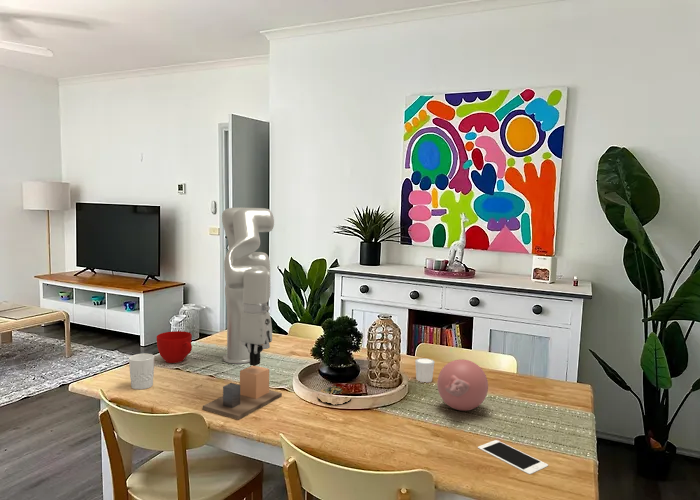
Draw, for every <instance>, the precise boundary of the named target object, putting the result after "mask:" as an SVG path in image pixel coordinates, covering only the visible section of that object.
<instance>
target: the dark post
mask: <svg viewBox="0 0 700 500" xmlns="http://www.w3.org/2000/svg"><path fill="white" fill-rule="evenodd" d="M222 396H223V406H226V407H230V408H234V407H236V406H238V405H240V384H237V383H235V382H233V383H232V382H230V383H227V384H225V385H223V386H222Z"/></svg>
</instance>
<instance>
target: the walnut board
mask: <svg viewBox="0 0 700 500" xmlns="http://www.w3.org/2000/svg"><path fill="white" fill-rule="evenodd" d="M282 394H283V393H282V392H280V391H276V390H275V391H274V390H271V389H269V393H267V394H265V395H263V396H261V397H259V398H257V399H255V398H251V397H247V396H243V395H240V405H238V406H236V407H234V408H230V407H226V406H223V395H222V396H220V397H218V398H216V399H214V400H212V401H210V402H209V401H208V402H207V403H205V404H203V405H202V407H201V408H202V410H203V411H206V412H210V413H213V414H217V415H220V416H223V417H224V416H225V417H228V418H231V419H235V420H237V421H239V420H241V419H242V418H245V417H246V416H248V415H250V414H252V413H254V412H256V411H258V410H260V409H261V408H263V407H265V406H267V405H268V404H270V403H272V402H274V401H276V400H278V399H280V398H282Z"/></svg>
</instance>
